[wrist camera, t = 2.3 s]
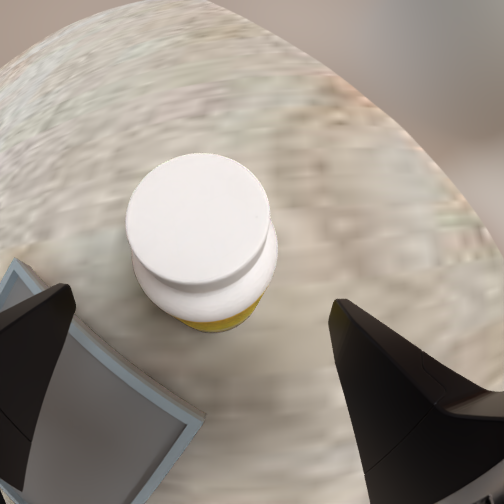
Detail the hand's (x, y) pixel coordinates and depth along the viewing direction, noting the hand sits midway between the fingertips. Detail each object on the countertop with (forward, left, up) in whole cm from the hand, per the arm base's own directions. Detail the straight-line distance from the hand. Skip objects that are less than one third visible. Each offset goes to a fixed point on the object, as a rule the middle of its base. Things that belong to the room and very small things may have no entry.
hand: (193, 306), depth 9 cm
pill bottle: (+2, +1, -10) cm, 11 cm away
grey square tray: (-14, +5, -10) cm, 18 cm away
